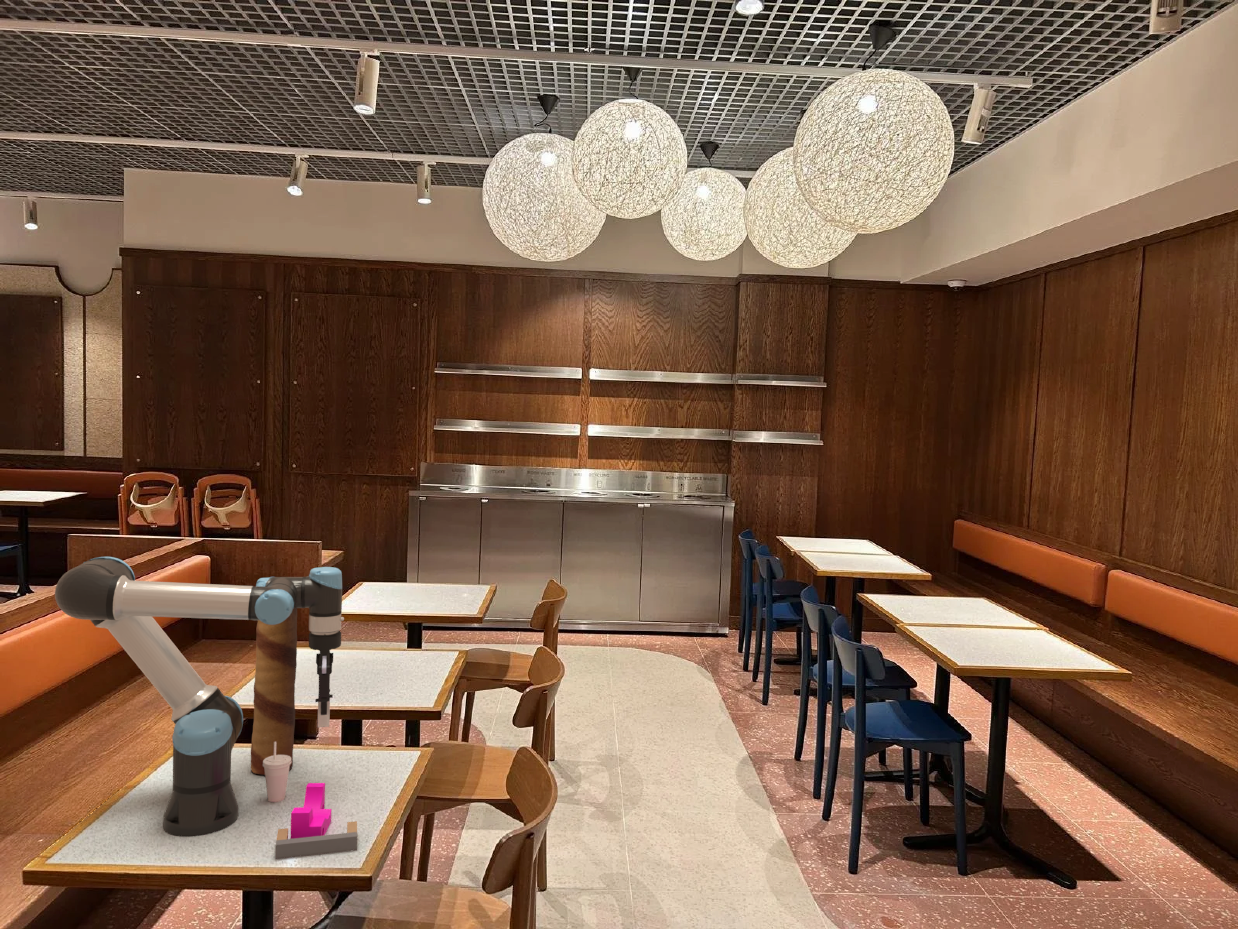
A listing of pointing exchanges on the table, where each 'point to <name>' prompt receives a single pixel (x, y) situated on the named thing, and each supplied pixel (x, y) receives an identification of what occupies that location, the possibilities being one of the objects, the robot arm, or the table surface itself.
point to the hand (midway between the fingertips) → (323, 726)
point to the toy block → (311, 814)
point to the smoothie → (276, 775)
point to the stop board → (315, 843)
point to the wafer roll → (274, 691)
